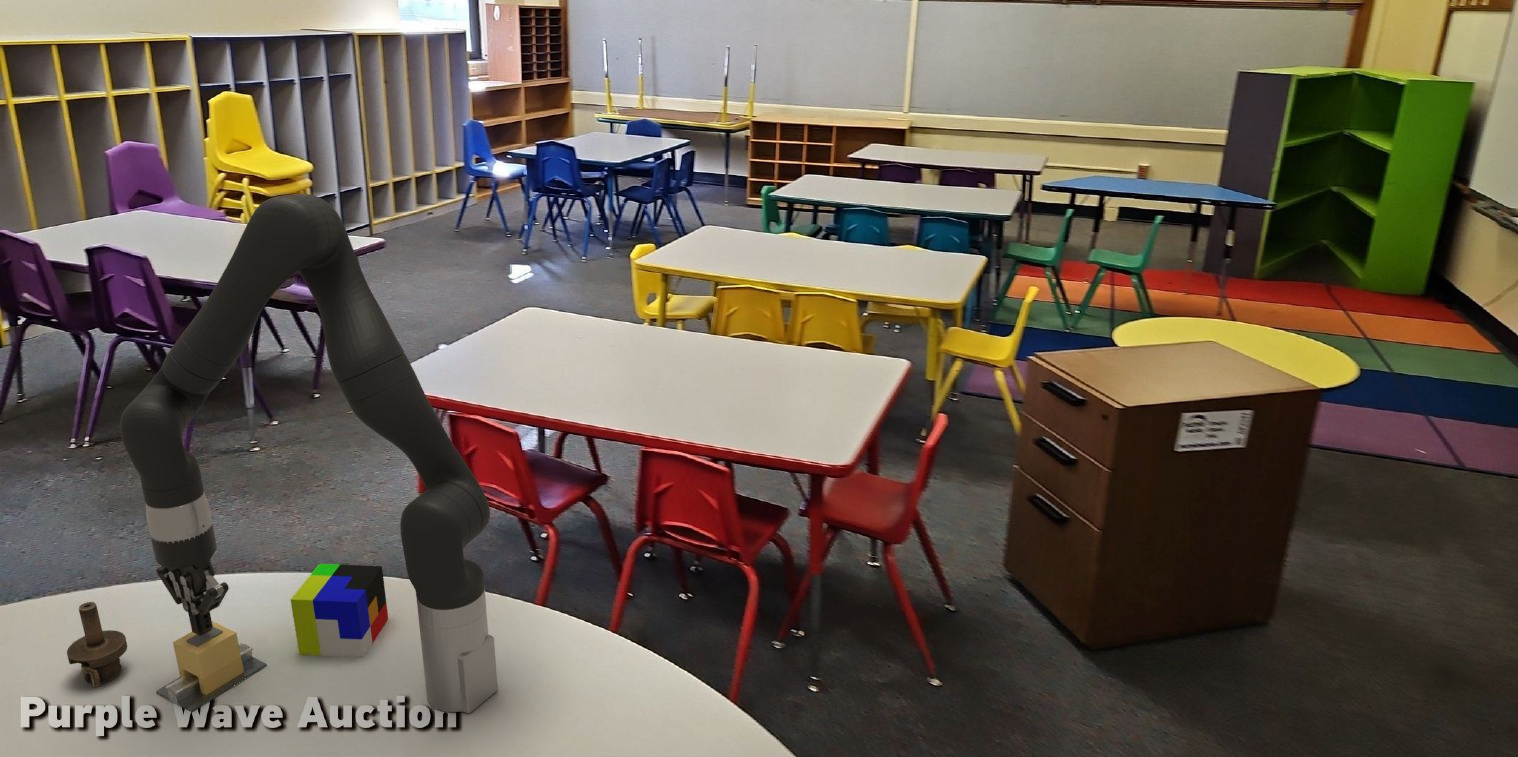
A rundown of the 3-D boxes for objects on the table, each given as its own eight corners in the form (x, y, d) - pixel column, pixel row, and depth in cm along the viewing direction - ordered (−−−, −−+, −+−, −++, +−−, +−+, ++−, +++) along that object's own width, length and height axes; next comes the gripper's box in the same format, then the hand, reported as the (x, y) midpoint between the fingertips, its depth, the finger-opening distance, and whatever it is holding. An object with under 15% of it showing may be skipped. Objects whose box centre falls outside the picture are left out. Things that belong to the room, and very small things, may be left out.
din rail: (266, 665, 150) (264, 653, 149) (191, 712, 140) (189, 699, 139) (231, 649, 153) (229, 637, 152) (156, 693, 143) (153, 680, 143)
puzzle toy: (364, 657, 153) (356, 602, 149) (299, 654, 153) (290, 599, 149) (388, 619, 162) (382, 566, 158) (327, 616, 162) (319, 563, 158)
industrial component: (102, 696, 142) (84, 625, 138) (60, 687, 144) (41, 616, 140) (153, 656, 151) (138, 589, 147) (114, 648, 152) (97, 581, 148)
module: (243, 672, 148) (236, 630, 145) (206, 695, 143) (197, 652, 140) (219, 660, 150) (211, 619, 147) (181, 682, 145) (172, 640, 142)
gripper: (237, 526, 137) (256, 631, 144) (176, 502, 143) (197, 605, 149) (186, 550, 131) (208, 660, 137) (124, 525, 137) (148, 631, 143)
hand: (202, 631), depth 143 cm, fingers closed
